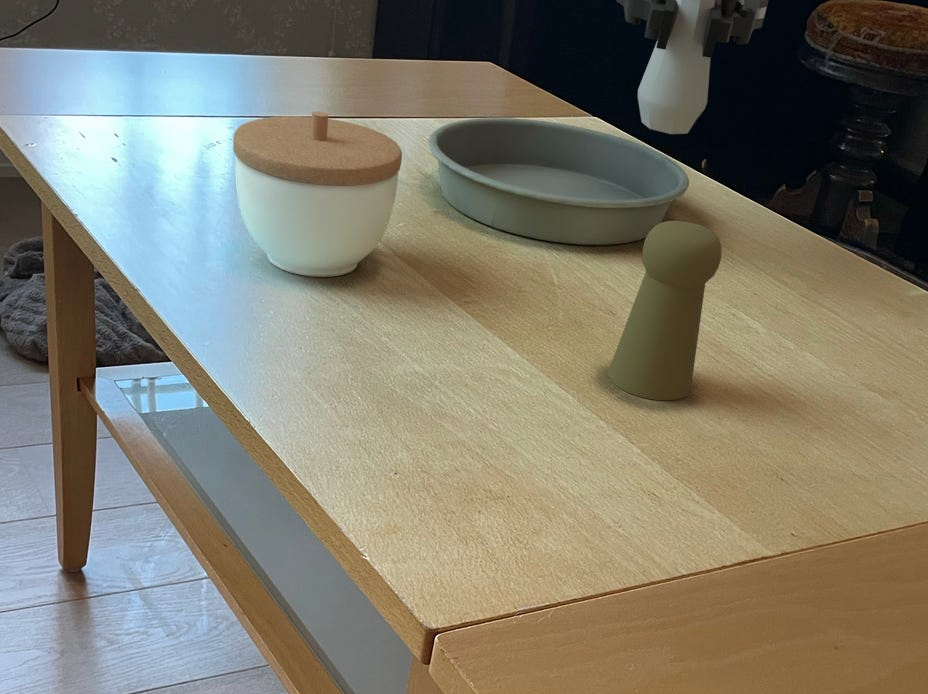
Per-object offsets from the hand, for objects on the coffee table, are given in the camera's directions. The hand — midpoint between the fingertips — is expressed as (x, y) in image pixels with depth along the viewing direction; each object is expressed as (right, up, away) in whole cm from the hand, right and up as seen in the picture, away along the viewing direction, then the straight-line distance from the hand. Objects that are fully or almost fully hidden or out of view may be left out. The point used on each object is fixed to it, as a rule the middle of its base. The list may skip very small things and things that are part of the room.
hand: (688, 33), depth 90 cm
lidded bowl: (-29, -17, +3) cm, 34 cm away
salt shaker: (0, -3, +9) cm, 10 cm away
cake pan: (-9, -5, +21) cm, 24 cm away
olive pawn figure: (-4, -28, -7) cm, 30 cm away
